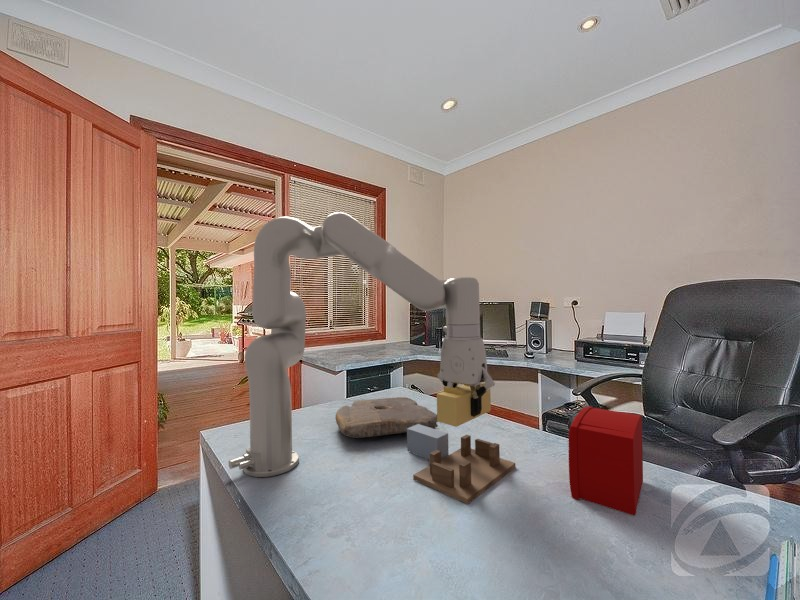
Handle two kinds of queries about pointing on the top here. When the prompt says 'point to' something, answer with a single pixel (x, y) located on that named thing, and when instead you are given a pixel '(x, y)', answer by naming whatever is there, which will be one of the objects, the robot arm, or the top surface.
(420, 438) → the grey rectangular block
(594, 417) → the fire alarm
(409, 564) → the top surface
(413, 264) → the robot arm
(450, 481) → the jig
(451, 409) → the tan toy brick
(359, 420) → the stone slab
